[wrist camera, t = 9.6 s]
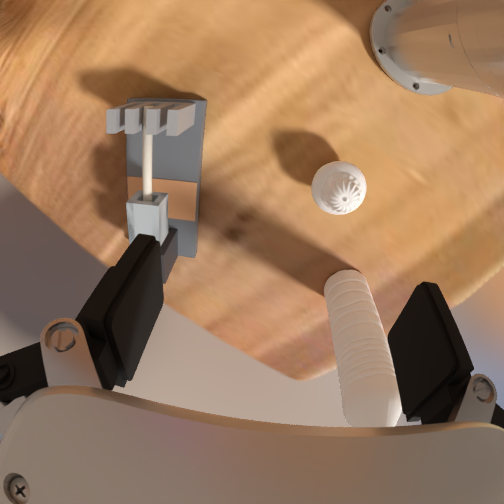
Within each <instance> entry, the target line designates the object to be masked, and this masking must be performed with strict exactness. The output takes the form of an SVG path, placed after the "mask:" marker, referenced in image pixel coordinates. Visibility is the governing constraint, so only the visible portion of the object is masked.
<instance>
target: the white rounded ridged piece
mask: <svg viewBox="0 0 504 504" xmlns="http://www.w3.org/2000/svg"><path fill="white" fill-rule="evenodd" d="M311 192H312V196H313V199H314V201H315V203H316V204H317V205H318V206H319V207H320V208H321V209H322V210H324V211H325V212H328V213H331V214H337V215H341V214H347V213H349V212H352V211H353V210H355V209H356V208H357V207H358V206H359V205H360V204H361V203H362V201H363V199H364V197H365V193H366V181H365V178H364V175H363V174H362V172H361V171H360V170H359V169H358V168H357V167H356V166H355V165H353V164H351V163H349V162H345V161H334V162H330V163H327V164H325V165H324V166H322V167H321V168H320V169H319V170H318V171H317V172H316V174H315V176H314V178H313V181H312V186H311Z"/></svg>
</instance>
